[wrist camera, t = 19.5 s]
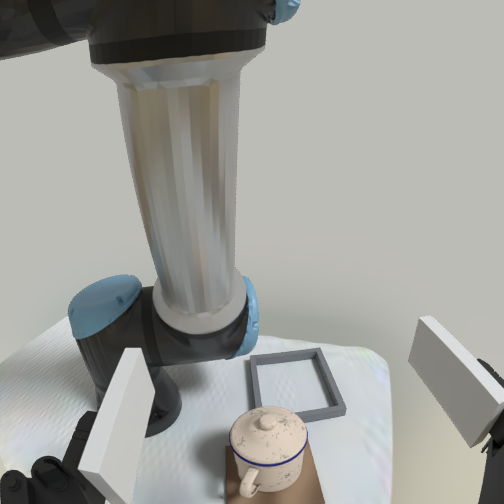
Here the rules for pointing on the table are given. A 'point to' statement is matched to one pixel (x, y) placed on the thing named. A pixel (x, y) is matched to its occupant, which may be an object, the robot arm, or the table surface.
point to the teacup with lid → (268, 449)
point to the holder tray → (296, 356)
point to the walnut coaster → (287, 500)
